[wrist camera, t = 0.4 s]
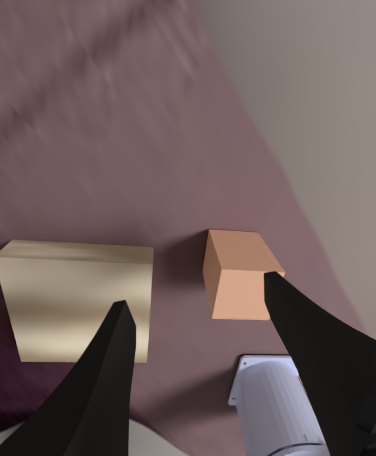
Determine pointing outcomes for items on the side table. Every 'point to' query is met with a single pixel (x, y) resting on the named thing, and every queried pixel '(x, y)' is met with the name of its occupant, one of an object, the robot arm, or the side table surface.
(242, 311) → the terracotta block
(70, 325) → the birch base
